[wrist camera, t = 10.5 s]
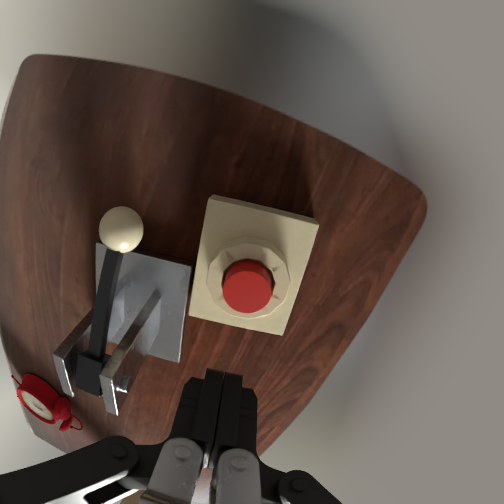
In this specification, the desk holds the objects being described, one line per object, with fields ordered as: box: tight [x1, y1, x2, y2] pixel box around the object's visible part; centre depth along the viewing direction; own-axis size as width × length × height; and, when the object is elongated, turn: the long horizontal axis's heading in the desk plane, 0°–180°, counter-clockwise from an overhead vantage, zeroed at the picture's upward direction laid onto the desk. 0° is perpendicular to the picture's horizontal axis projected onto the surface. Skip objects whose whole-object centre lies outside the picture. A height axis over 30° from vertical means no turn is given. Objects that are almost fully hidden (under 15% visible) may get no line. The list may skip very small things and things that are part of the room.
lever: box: [75, 206, 143, 397], centre depth 18 cm, size 14×3×3 cm, turn 167°
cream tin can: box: [120, 490, 145, 504], centre depth 39 cm, size 9×9×12 cm
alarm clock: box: [11, 373, 83, 432], centre depth 34 cm, size 10×6×15 cm
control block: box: [189, 194, 319, 335], centre depth 24 cm, size 11×9×4 cm
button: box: [223, 261, 272, 313], centre depth 22 cm, size 4×4×2 cm
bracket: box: [52, 240, 194, 415], centre depth 22 cm, size 12×10×13 cm
